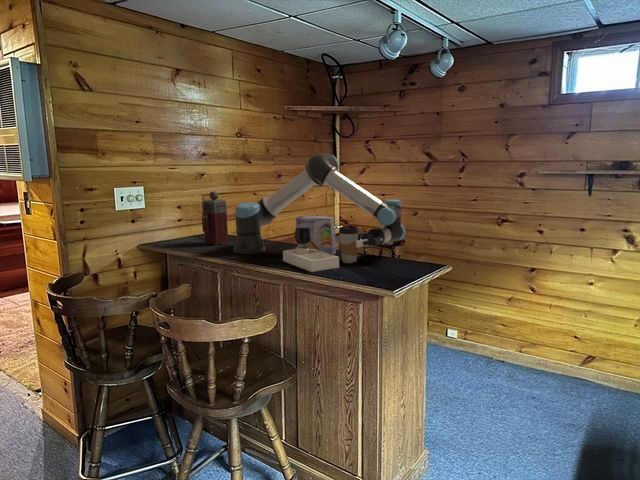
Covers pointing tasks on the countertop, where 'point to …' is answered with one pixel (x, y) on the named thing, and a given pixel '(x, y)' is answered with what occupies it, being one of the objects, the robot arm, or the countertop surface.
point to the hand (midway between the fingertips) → (345, 242)
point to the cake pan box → (316, 233)
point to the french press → (214, 220)
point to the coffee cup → (348, 243)
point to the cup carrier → (312, 260)
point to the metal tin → (302, 250)
